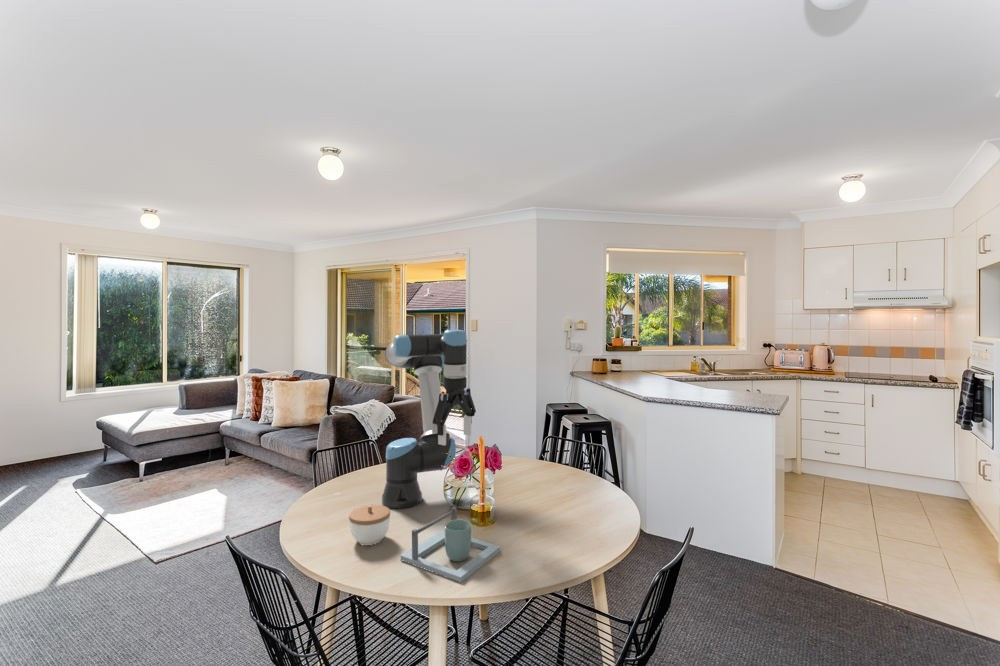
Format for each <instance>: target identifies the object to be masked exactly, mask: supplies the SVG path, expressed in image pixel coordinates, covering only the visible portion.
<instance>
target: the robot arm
mask: <svg viewBox="0 0 1000 666" xmlns="http://www.w3.org/2000/svg"><path fill="white" fill-rule="evenodd" d="M467 342H468V340H467V332H466V331H465V330H463V329H446V330H445V331H443V333H438V334H436V333H433V334H431V333H430V334H428V333H427V334H401V335H399V334H398V335H395V336H394V337H393V342H391V343H390V344H389V345H388V346H386V349H385V352H384V357H385V359H386V361H387V363H388V364H390V365H391V366H394V367H396V368H399V369H413V372H414V375H416V376H417V377H418V385H419V386H418V387H419V396H420V405H421V406H420V408H421V419H422V429H423V434H422V435H421V436H420V437H419V439H420V441H418V440H417V439H416V438H413V437H403V438H400V439H399V438H398V439H396V440H394V441H393V440H392V441H391V442H390V443H389V444H388V445H386V448H385V461H386V463H385V464H386V465H385V467H386V468H385V470H386V474H385V475H386V476H385V477H386V483H385V486H384V489H383V490H384V491H383V494H382V495H381V503H382V504H381V505H382V506H386V507H388V508H389V509H407V508H412V507H415V506H417V505H419V504H420V503H422V500H423V493H422V491H421V488H420V484H419V482H418V473H426V472H427V473H428V472H436V471H440V472H441V471H443V470H448V469H447V468H443V467H441V465H443V466H447V465H449V464H450V462H451V460H452V458H455V459H456V456H457V455H456V452H457V448H456V447H457V446H456V444H457V443H456V440H455V439H454V438H452V437H451V436H450V433H449V432H448V431H447V425H446V421H447V419H448V417H449V415H450V412H451V411H452V409H453V408H454V407H455V406H457V405H459V407H460V408H461V410H462V411H463V413H464V415H463V435H465V436H472V423H473V421H472V420H473V417H475V414H476V406H475V404H474V400H473V398H472V395H471V394H472V393H471V388H469V387H467V377H466V376H467V345H468V343H467ZM442 371H443V376H444V377H443V388H444V389H445V393H442V390H441V381H440V374H441V372H442ZM444 451H445V452H444ZM448 451H450V452H451V453H449V452H448ZM442 453H443V454H442ZM445 453H448V454H445ZM449 454H450V455H449ZM450 456H451V457H450Z"/></svg>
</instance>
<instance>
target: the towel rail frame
mask: <svg viewBox="0 0 1000 666" xmlns="http://www.w3.org/2000/svg"><path fill="white" fill-rule="evenodd" d="M457 509H458V508H457V507H455V506H453V507H451V510H449V512H447V513H445V514H443V515H442V516H439V517H438V518H435V519H434V520H432V521H430V522H428V523H427V524H426V525H424V526H422V527H420V528H418V529H417V528H413V529H412V530H411V548H410V549H409V550H407V551H405V552H403V553H402V554H400V557H399V558H400V561H401V560H404V561H406V562H409V563H411V564H414V565H416V566H415V567H417V566H419V567H418V568H420V567H422V568H425V569H427V570H426V571H428V570H430V571H433V572H435V573H434V574H436V573H438V574H440V575H439V576H441V575H443V576H442V577H444V576H446V577H448V578H447V579H449V578H451V579H450V580H452V579H454V580H453V581H455V580H456V581H455V582H457V581H458V582H457V583H460V582H461V583H463V581H465V580H466V579H467V578H469V577H470V576H471V575H473V574H474V573H475V572H476V571H477V570H479V569H480V568H482V567H483V566H484V565H485V564H487V563H488V562H489V561H490V560H491V559H492V558H494V557H496V555H498V554H499V553H500V552H501V546H499V545H496V544H494V543H493V544H492V543H490V542H486V541H483V540H481V539H480V540H479V539H476V538H473V537H471V547H473V548H476V549H480V550H482V551H481V552H479V553H478V554H477V555H475V556H474V557H472V558H471V559H470V560H469V561H467V562H466V563H465V564H463V565H462V566H461V567H460V568H458V569H457V570H455V569H452V568H450V567H446V566H444V565H442V564H438V563H436V562H432V561H430V560H427V559H424V558H422V556H423V557H424V556H426V555H428V554H429V553H430V551H431V550H432V551H434V550H435V549H437V548H438V547H439V545H440V546H441V545H443V544H445V543H444V542H445V528H443V529H442V530H440V531H438V532H437V533H435V534H433V535H432V536H430V537H429V538H426V540H424V541H422V542H420V543H419V534H420V533H421V532H424V531H426V530H427V529H429V528H430V527H432V526H434V525H435V524H438V523H439V522H440V521H443V520H444V519H446V518H448V517H451V520H456V519H458V514H457V513H458V510H457ZM436 547H437V548H436ZM433 549H434V550H433ZM432 551H431V552H432ZM428 552H429V553H428ZM425 554H426V555H425ZM420 557H421V558H420ZM406 562H405V563H406ZM409 563H408V564H409ZM411 564H410V565H411ZM414 565H413V566H414ZM422 568H421V569H422ZM425 569H424V570H425ZM430 571H429V572H430ZM433 572H432V573H433ZM438 574H437V575H438ZM446 577H445V578H446Z"/></svg>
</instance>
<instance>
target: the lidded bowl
mask: <svg viewBox="0 0 1000 666" xmlns="http://www.w3.org/2000/svg"><path fill="white" fill-rule="evenodd" d="M348 519H349V528H350V533H351V536H352V537H353V539H355V541H356V542H358V544H359V543H360V544H363V545H371V546H373V545H372V544H375V545H377V544H376V543H378V542H380V541H381V542H382V540H383V539H384V538H385V536H386V535H387V533H388V531H389V529H390V522H391V521H390V520H391V508H389V507H386V506H384V505H383V504H368V505H362V506H360V507H357V508H355V509H353V510H351V512H349V515H348ZM381 542H380V543H381ZM360 544H359V545H360ZM378 544H379V543H378ZM363 545H362V546H363Z"/></svg>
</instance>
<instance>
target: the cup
mask: <svg viewBox="0 0 1000 666" xmlns="http://www.w3.org/2000/svg"><path fill="white" fill-rule="evenodd" d="M471 523H472V522H471V521H469V520H466V519H458V518H457V519H456V520H452V519H450V520H449V521H447V522H446V524H444V530H445V543H444V548H445V553H446V556H447V558H448V559H449V560H451V561H453V562H463V561H465V560H466V559H467V558H469V555H470V552H471V547H472V546H471V538H472V524H471Z"/></svg>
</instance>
